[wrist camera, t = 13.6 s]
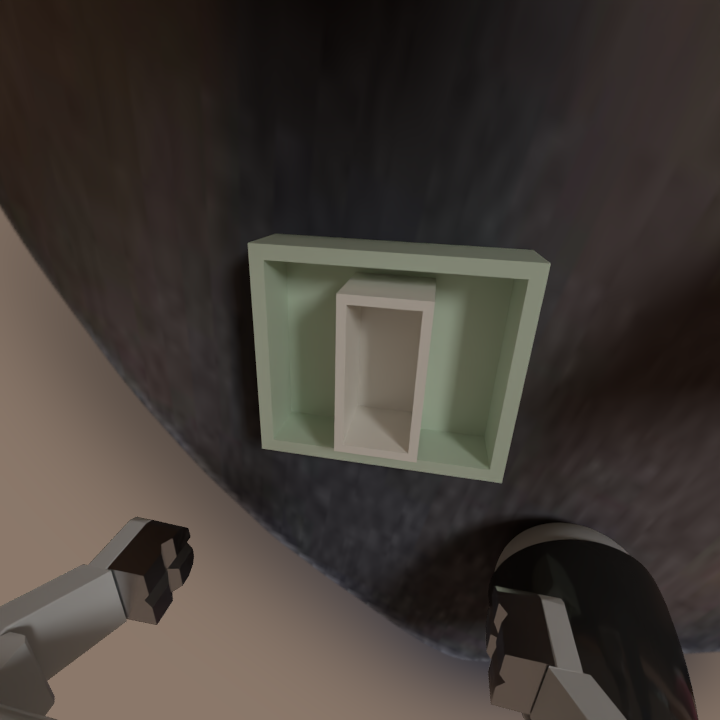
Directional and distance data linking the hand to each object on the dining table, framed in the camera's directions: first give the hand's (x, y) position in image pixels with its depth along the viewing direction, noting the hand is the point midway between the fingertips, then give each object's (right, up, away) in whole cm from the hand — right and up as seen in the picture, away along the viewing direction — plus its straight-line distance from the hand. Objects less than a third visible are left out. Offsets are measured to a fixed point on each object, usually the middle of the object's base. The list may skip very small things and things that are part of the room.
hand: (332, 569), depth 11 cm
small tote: (+3, +6, +15) cm, 16 cm away
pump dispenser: (+15, -9, +20) cm, 26 cm away
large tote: (+3, +6, +15) cm, 17 cm away
